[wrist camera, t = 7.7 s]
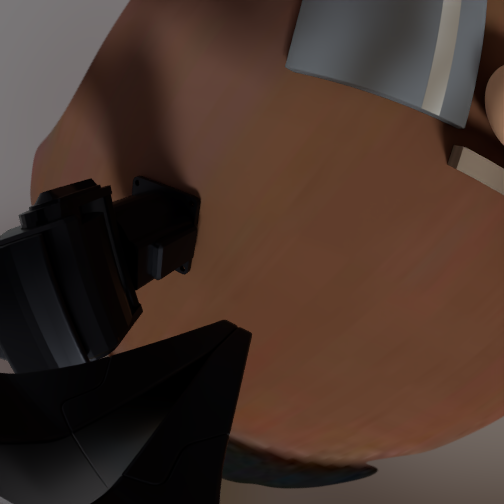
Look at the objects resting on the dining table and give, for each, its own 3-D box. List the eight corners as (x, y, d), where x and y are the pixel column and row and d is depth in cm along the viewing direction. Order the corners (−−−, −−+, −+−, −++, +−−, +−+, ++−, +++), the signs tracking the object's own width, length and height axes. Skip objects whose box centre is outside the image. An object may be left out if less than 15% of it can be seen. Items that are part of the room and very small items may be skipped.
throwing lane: (284, 105, 17) (269, 101, 14) (335, -90, 9) (326, -109, 7) (560, 232, 11) (577, 246, 9) (592, 24, 3) (608, 17, 1)
